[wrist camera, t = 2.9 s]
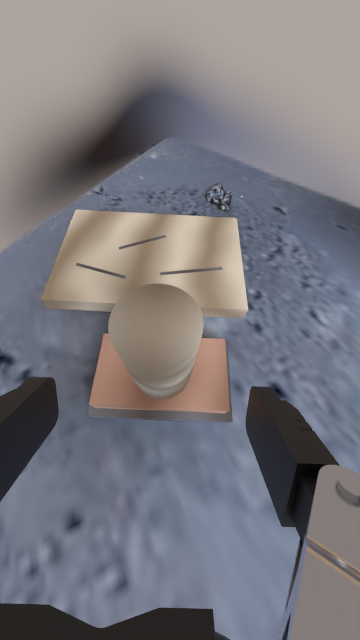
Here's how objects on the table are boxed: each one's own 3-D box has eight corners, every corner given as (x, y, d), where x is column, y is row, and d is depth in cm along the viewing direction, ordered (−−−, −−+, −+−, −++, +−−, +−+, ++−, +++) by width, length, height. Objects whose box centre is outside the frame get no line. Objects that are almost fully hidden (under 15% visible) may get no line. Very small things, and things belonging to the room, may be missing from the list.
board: (233, 229, 27) (236, 217, 26) (243, 317, 21) (248, 309, 20) (80, 221, 27) (75, 209, 25) (48, 308, 21) (39, 299, 20)
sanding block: (223, 347, 20) (264, 271, 11) (227, 423, 17) (287, 400, 8) (108, 342, 20) (58, 261, 11) (93, 417, 17) (9, 388, 8)
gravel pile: (234, 184, 33) (236, 170, 31) (259, 216, 29) (264, 201, 27) (189, 191, 32) (189, 177, 30) (208, 225, 28) (210, 210, 26)
